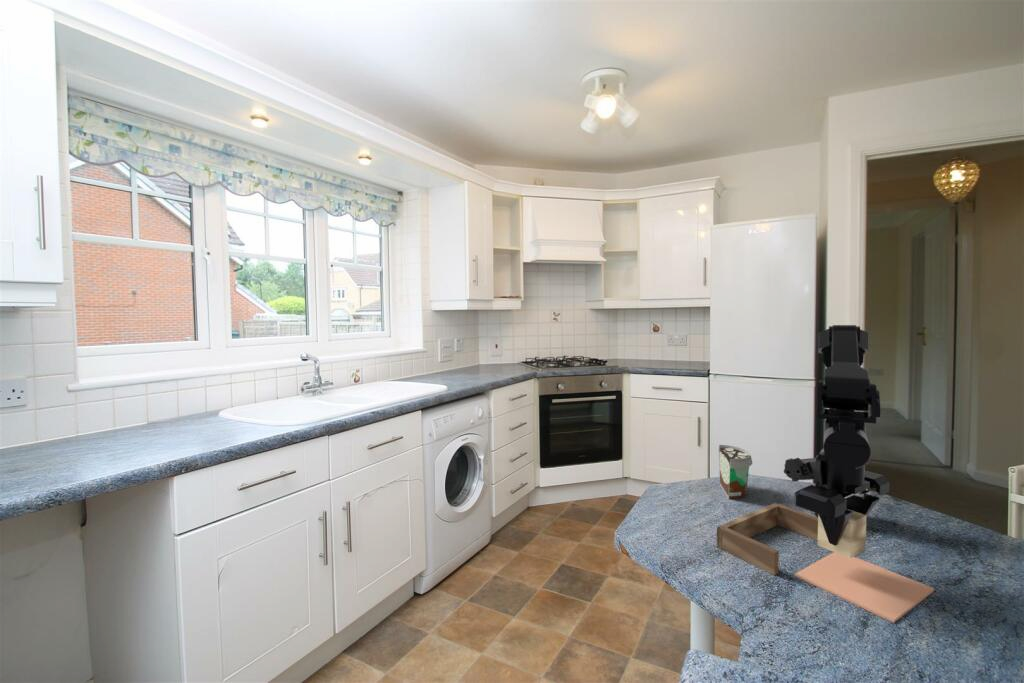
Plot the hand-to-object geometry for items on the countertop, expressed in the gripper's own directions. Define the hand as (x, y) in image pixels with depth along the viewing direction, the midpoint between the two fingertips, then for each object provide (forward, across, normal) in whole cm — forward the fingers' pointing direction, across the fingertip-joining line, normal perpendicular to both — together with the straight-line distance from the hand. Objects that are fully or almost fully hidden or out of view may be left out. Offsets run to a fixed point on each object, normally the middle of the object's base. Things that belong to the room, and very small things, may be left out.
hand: (841, 539), depth 80 cm
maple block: (+1, 0, 0) cm, 1 cm away
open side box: (+6, 0, -12) cm, 13 cm away
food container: (+6, -17, -31) cm, 36 cm away
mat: (+6, 0, +3) cm, 7 cm away
